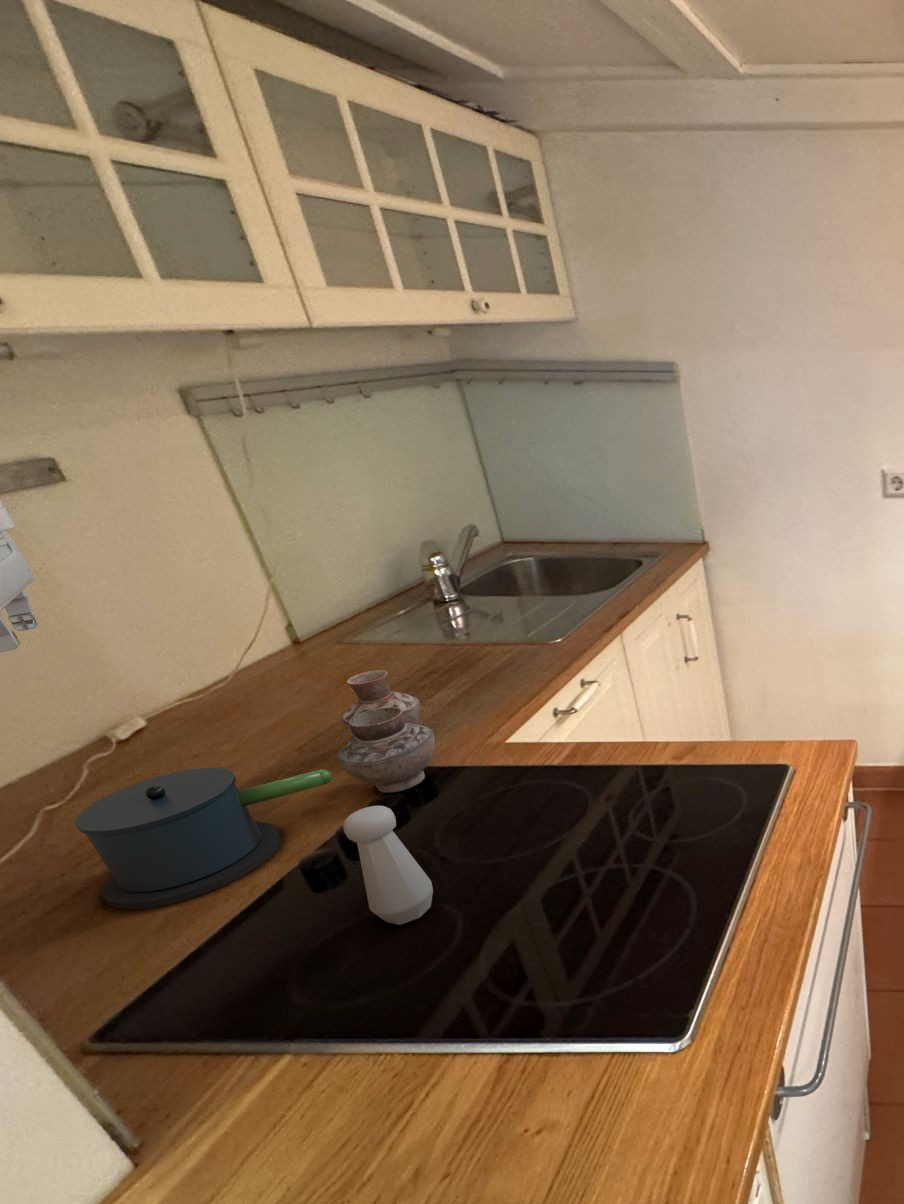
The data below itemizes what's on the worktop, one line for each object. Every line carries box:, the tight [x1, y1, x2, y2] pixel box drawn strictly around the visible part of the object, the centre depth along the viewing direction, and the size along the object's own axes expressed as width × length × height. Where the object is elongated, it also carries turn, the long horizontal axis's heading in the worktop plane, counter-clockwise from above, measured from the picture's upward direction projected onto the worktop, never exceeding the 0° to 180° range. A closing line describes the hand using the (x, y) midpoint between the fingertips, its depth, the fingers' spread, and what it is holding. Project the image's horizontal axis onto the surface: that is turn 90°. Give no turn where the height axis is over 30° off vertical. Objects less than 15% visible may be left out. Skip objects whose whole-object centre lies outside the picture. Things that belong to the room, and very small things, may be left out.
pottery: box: [336, 669, 436, 794], centre depth 112 cm, size 11×25×12 cm, turn 38°
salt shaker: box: [342, 805, 434, 926], centre depth 82 cm, size 6×6×13 cm
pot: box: [74, 767, 333, 892], centre depth 93 cm, size 22×14×10 cm, turn 127°
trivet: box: [100, 821, 281, 911], centre depth 93 cm, size 16×16×1 cm
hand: (19, 638), depth 89 cm, fingers open, 8 cm apart
